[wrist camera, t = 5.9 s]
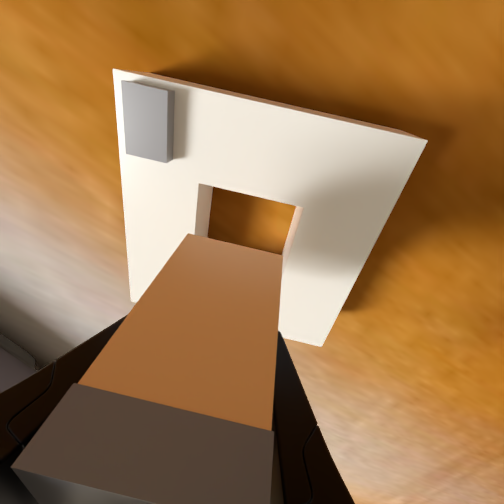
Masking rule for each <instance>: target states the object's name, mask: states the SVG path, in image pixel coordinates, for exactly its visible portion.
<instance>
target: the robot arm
mask: <svg viewBox="0 0 504 504" xmlns="http://www.w3.org/2000/svg"><path fill="white" fill-rule="evenodd" d="M126 317H127V315H126V316H125V317H123V318H122V319H120V320H118V321H117V322H115V323H114V324H112V325H111V326H109V327H107V328H106V329H104V330H103V331H101V332H99V333H98V334H96V335H95V336H93V337H91V338H90V339H88V340H87V341H85V342H84V343H82V344H80V345H79V346H77V347H76V348H74V349H72V350H71V351H69V352H68V353H66V354H65V355H63V356H61V357H60V358H58V359H57V360H56V362H55V361H53V362H52V363H50V364H49V365H47V366H45V367H44V368H42V369H41V370H39V371H37V372H36V373H34V374H32V375H31V376H29V377H27V378H26V379H24V380H22V381H21V382H19V383H17V384H15V385H13V386H12V387H10V388H8V389H6V390H5V391H3V392H1V393H0V504H39V503H38V502H37V501H36V499H35V498H34V497H33V495H32V494H31V493H30V491H29V490H28V489H27V488H26V486H25V485H24V484H23V482H22V481H21V480H20V479H19V477H18V476H17V475H16V473H15V472H14V471H13V469H12V468H11V466H12V465H13V463H14V462H15V461H16V459H17V458H18V457H19V455H20V454H21V453H22V451H23V450H24V449H25V447H26V446H27V445H28V443H29V442H30V441H31V439H32V438H33V437H34V435H35V434H36V433H37V431H38V430H39V429H40V427H41V426H42V425H43V423H44V422H45V421H46V419H47V418H48V417H49V415H50V414H51V413H52V411H53V410H54V409H55V407H56V406H57V405H58V403H59V402H60V401H61V399H62V398H63V397H64V395H65V394H66V393H67V391H68V390H69V389H70V387H71V386H72V385H73V383H77V384H78V382H79V381H80V380H81V378H82V377H83V375H84V374H85V373H86V371H87V370H88V369H89V367H90V366H91V365H92V363H93V362H94V360H95V359H96V358H97V356H98V355H99V354H100V352H101V351H102V350H103V348H104V347H105V345H106V344H107V343H108V341H109V340H110V339H111V337H112V336H113V335H114V333H115V332H116V330H117V329H118V328H119V326H120V325H121V324H122V322H123V321H124V320H125V318H126ZM271 431H273V432H274V444H273V461H272V478H271V495H270V504H355V503H354V501H353V499H352V497H351V495H350V493H349V491H348V489H347V487H346V485H345V483H344V481H343V479H342V477H341V475H340V473H339V471H338V469H337V467H336V465H335V463H334V461H333V459H332V457H331V455H330V452H329V450H328V448H327V445H326V443H325V441H324V438H323V436H322V433H321V431H320V428H319V426H317V421H316V419H315V416H314V414H313V411H312V409H311V406H310V404H309V401H308V399H307V396H306V394H305V391H304V389H303V386H302V384H301V381H300V379H299V376H298V374H297V371H296V369H295V366H294V364H293V361H292V359H291V357H290V354H289V352H288V349H287V347H286V344H285V342H284V339H283V337H282V334H281V332H280V331H278V339H277V354H276V368H275V383H274V398H273V413H272V428H271Z"/></svg>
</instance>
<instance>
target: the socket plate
mask: <svg viewBox="0 0 504 504" xmlns="http://www.w3.org/2000/svg"><path fill="white" fill-rule="evenodd" d="M113 77H114V90H115V103H116V116H117V128H118V141H119V154H120V167H121V180H122V193H123V205H124V218H125V231H126V244H127V257H128V270H129V283H130V295H131V301H132V302H136V303H137V302H138V300H139V299H140V298H141V296H142V295H143V294H144V292H145V291H146V290H147V288H148V287H149V286H150V284H151V283H152V281H153V280H154V279H155V277H156V276H157V275H158V273H159V272H160V271H161V269H162V268H163V266H164V265H165V264H166V262H167V261H168V260H169V258H170V257H171V256H172V254H173V253H174V251H175V250H176V249H177V247H178V246H179V245H180V243H181V242H182V241H183V239H184V238H185V236H186V235H187V234H188V233H189V234H193V235H198V236H202V237H206V238H207V236H208V228H209V219H210V210H211V201H212V193H213V187H217V188H222V189H226V190H230V191H235V192H239V193H243V194H248V195H252V196H256V197H260V198H265V199H269V200H273V201H278V202H282V203H286V204H291V205H295V206H296V209H295V212H294V216H293V219H292V222H291V226H290V229H289V232H288V236H287V239H286V242H285V245H284V249H283V252H282V255H283V264H282V279H281V294H280V309H279V324H278V331H280V332H281V334H282V337H283V338H286V339H290V340H295V341H299V342H303V343H307V344H311V345H316V346H320V347H322V345H323V343H324V341H325V339H326V337H327V335H328V333H329V331H330V329H331V328H332V326H333V324H334V322H335V320H336V318H337V316H338V314H339V312H340V310H341V308H342V306H343V304H344V302H345V300H346V298H347V297H348V295H349V293H350V291H351V289H352V287H353V285H354V283H355V281H356V279H357V277H358V275H359V273H360V271H361V269H362V267H363V266H364V264H365V262H366V260H367V258H368V256H369V254H370V252H371V250H372V248H373V246H374V244H375V242H376V240H377V238H378V236H379V235H380V233H381V231H382V229H383V227H384V225H385V223H386V221H387V219H388V217H389V215H390V213H391V211H392V209H393V207H394V205H395V204H396V202H397V200H398V198H399V196H400V194H401V192H402V190H403V188H404V186H405V184H406V182H407V180H408V178H409V176H410V174H411V173H412V171H413V169H414V167H415V165H416V163H417V161H418V159H419V157H420V155H421V153H422V151H423V149H424V147H425V145H426V143H427V142H428V140H425V139H423V138H420V137H418V136H415V135H412V134H410V133H407V132H405V131H402V130H399V129H394V128H390V127H386V126H381V125H377V124H372V123H368V122H364V121H359V120H355V119H351V118H346V117H342V116H337V115H333V114H329V113H324V112H320V111H315V110H311V109H307V108H302V107H298V106H293V105H289V104H285V103H280V102H276V101H271V100H267V99H263V98H258V97H254V96H249V95H245V94H241V93H236V92H232V91H228V90H223V89H219V88H214V87H210V86H206V85H201V84H197V83H192V82H188V81H184V80H179V79H175V78H170V77H166V76H162V75H157V74H153V73H147V72H138V71H129V70H120V69H113Z"/></svg>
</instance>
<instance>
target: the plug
mask: <svg viewBox="0 0 504 504" xmlns="http://www.w3.org/2000/svg"><path fill="white" fill-rule="evenodd" d="M282 264H283V255H279V254H274V253H270V252H266V251H262V250H257V249H253V248H249V247H245V246H240V245H236V244H232V243H228V242H223V241H219V240H215V239H210V238H206V237H202V236H198V235H193V234H189V233H188V234H187V235H186V236H185V238H184V239H183V241H182V242H181V243H180V245H179V246H178V247H177V249H176V250H175V251H174V253H173V254H172V256H171V257H170V258H169V260H168V261H167V262H166V264H165V265H164V266H163V268H162V269H161V271H160V272H159V273H158V275H157V276H156V277H155V279H154V280H153V281H152V283H151V284H150V286H149V287H148V288H147V290H146V291H145V292H144V294H143V295H142V296H141V298H140V299H139V300H138V302H137V303H136V305H135V306H134V307H133V309H132V310H131V311H130V313H129V314H128V315H127V317H126V318H125V320H124V321H123V322H122V324H121V325H120V326H119V328H118V329H117V330H116V332H115V333H114V335H113V336H112V337H111V339H110V340H109V341H108V343H107V344H106V345H105V347H104V348H103V350H102V351H101V352H100V354H99V355H98V356H97V358H96V359H95V360H94V362H93V363H92V365H91V366H90V367H89V369H88V370H87V371H86V373H85V374H84V375H83V377H82V378H81V380H80V381H79V382H78V384H77V383H73V385H72V386H71V387H70V389H69V390H68V391H67V393H66V394H65V395H64V397H63V398H62V399H61V401H60V402H59V403H58V405H57V406H56V407H55V409H54V410H53V411H52V413H51V414H50V415H49V417H48V418H47V419H46V421H45V422H44V423H43V425H42V426H41V427H40V429H39V430H38V431H37V433H36V434H35V435H34V437H33V438H32V439H31V441H30V442H29V443H28V445H27V446H26V447H25V449H24V450H23V451H22V453H21V454H20V455H19V457H18V458H17V459H16V461H15V462H14V463H13V465H12V466H11V468H12V469H13V471H14V472H15V473H16V475H17V476H18V477H19V479H20V480H21V481H22V482H23V484H24V485H25V486H26V488H27V489H28V490H29V491H30V493H31V494H32V495H33V497H34V498H35V499H36V501H37V502H38V503H39V504H270V495H271V478H272V461H273V444H274V432H273V431H271V428H272V413H273V398H274V383H275V368H276V354H277V339H278V324H279V309H280V294H281V279H282Z"/></svg>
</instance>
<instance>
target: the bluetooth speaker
mask: <svg viewBox="0 0 504 504" xmlns="http://www.w3.org/2000/svg"><path fill="white" fill-rule="evenodd" d="M35 361H36V360H35V359H34V358H33V357H32V356H31V355H30V354H29V353H28V352H26V351H25V350H23V349H22V348H21V347H19V346H18V345H16V344H15V343H14V342H12V341H11V340H9V339H8V338H6V337H5V336H3V335H2V334H0V393H1V392H3V391H5V390H6V389H8V388H10V387H12V386H13V385H15V384H17V383H19V382H21V381H22V380H24V379H26V378H27V377H29V376H31V375H32V374H34V373H36V372H37V370H36V369H35Z"/></svg>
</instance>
